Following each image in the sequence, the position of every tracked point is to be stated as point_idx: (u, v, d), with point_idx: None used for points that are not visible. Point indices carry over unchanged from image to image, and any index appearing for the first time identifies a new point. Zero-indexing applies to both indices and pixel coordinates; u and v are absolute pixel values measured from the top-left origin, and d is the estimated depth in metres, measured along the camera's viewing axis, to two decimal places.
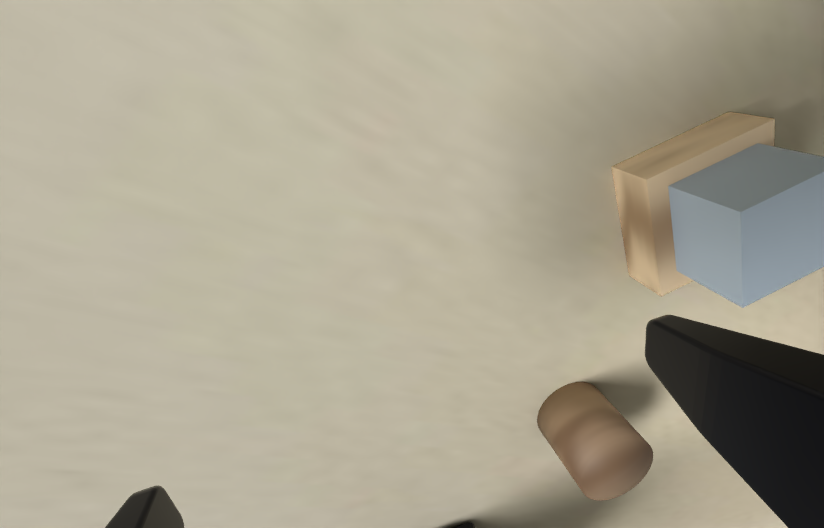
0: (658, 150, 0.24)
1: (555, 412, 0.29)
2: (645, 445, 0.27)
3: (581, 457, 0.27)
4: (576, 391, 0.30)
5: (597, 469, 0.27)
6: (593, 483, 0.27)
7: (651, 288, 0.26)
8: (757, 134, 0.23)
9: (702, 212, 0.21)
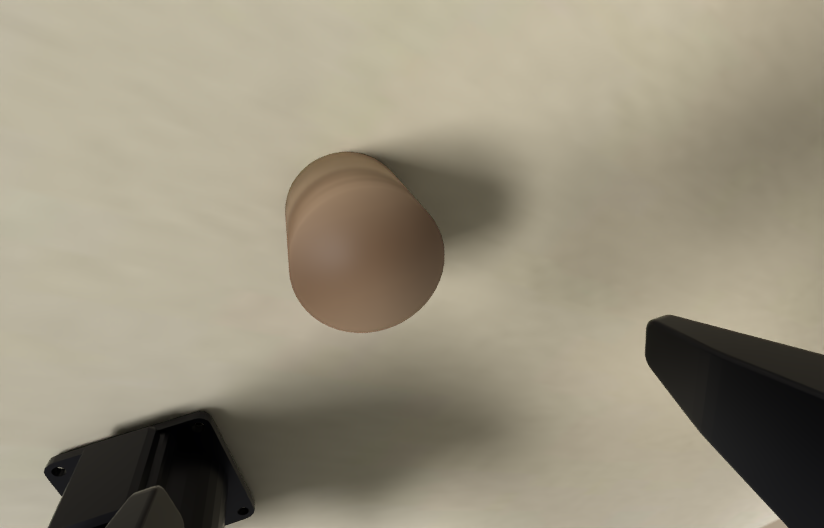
0: None
1: (295, 190, 0.16)
2: (419, 213, 0.14)
3: (293, 234, 0.14)
4: (337, 157, 0.17)
5: (322, 256, 0.14)
6: (322, 289, 0.14)
7: None
8: None
9: None
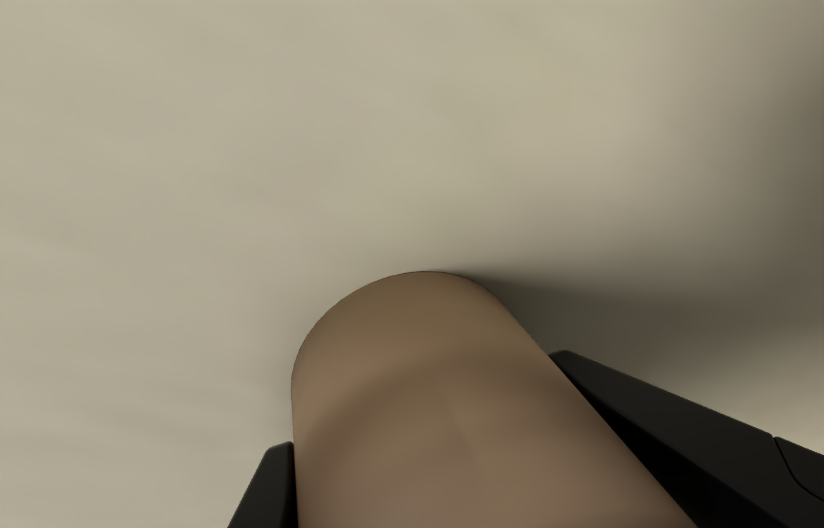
0: None
1: (313, 375, 0.07)
2: None
3: None
4: (405, 296, 0.08)
5: None
6: None
7: None
8: None
9: None
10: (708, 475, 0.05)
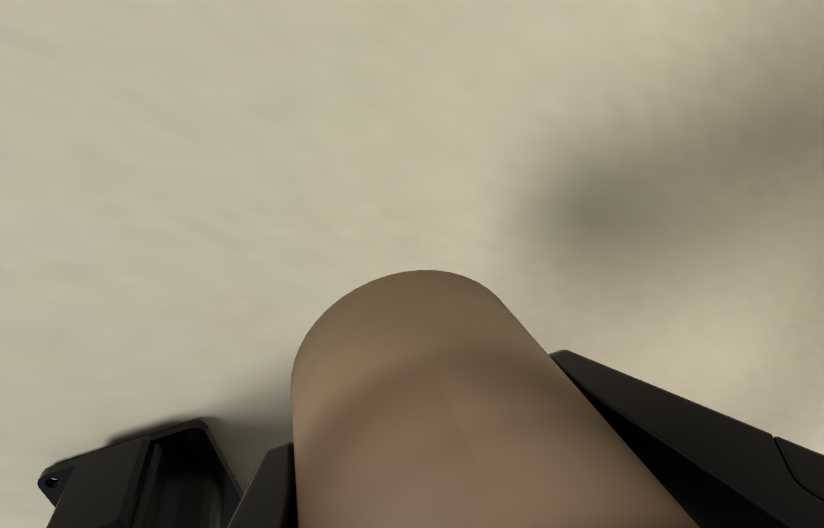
0: None
1: (313, 374, 0.07)
2: None
3: None
4: (405, 294, 0.08)
5: None
6: None
7: None
8: None
9: None
10: (708, 475, 0.05)
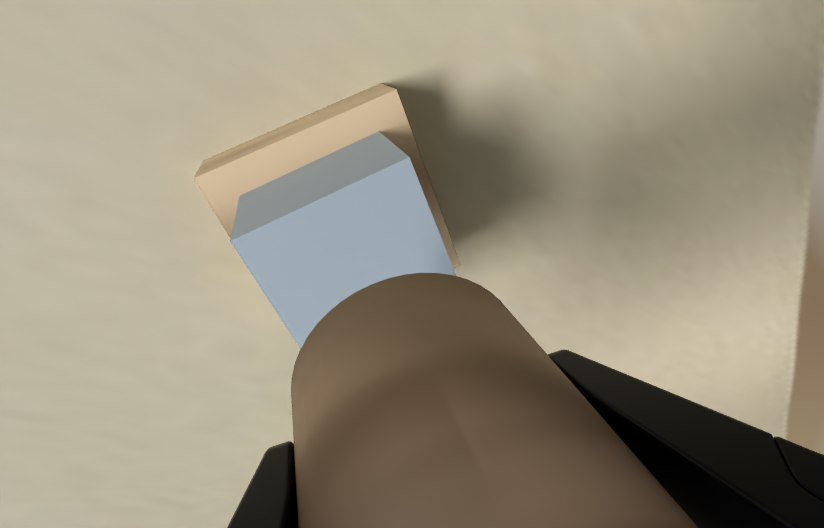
0: (263, 136, 0.17)
1: (313, 377, 0.07)
2: None
3: None
4: (406, 297, 0.08)
5: None
6: None
7: None
8: (373, 112, 0.16)
9: None
10: (708, 475, 0.05)
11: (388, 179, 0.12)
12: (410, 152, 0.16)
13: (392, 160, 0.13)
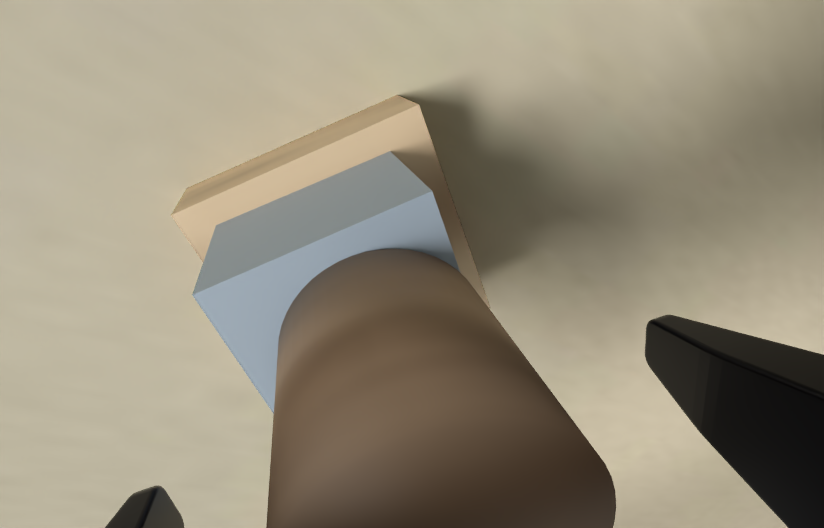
0: (257, 160, 0.14)
1: (294, 330, 0.09)
2: (577, 454, 0.06)
3: (277, 495, 0.06)
4: (377, 266, 0.09)
5: None
6: None
7: None
8: (391, 132, 0.13)
9: None
10: None
11: (404, 218, 0.10)
12: (434, 179, 0.14)
13: (409, 194, 0.10)
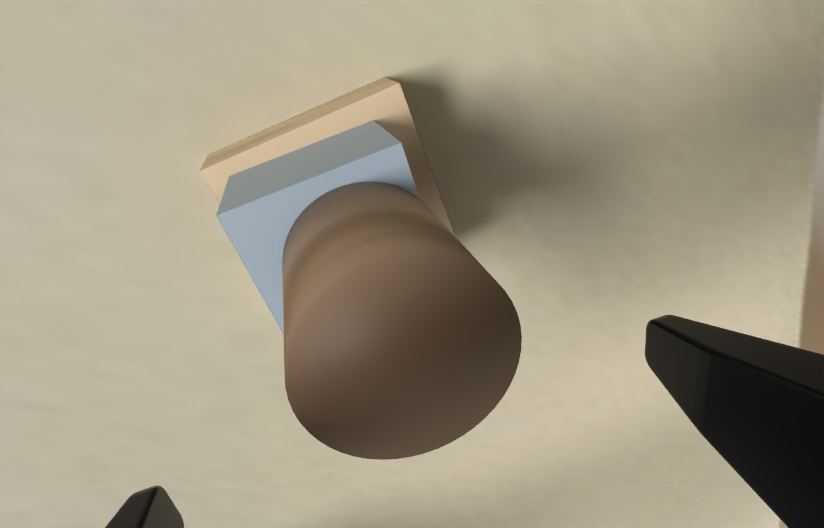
0: (267, 130, 0.17)
1: (297, 235, 0.12)
2: (492, 291, 0.09)
3: (294, 316, 0.09)
4: (361, 190, 0.12)
5: (338, 354, 0.09)
6: (336, 401, 0.09)
7: None
8: (377, 106, 0.16)
9: None
10: None
11: (379, 163, 0.12)
12: (413, 145, 0.17)
13: (383, 145, 0.13)
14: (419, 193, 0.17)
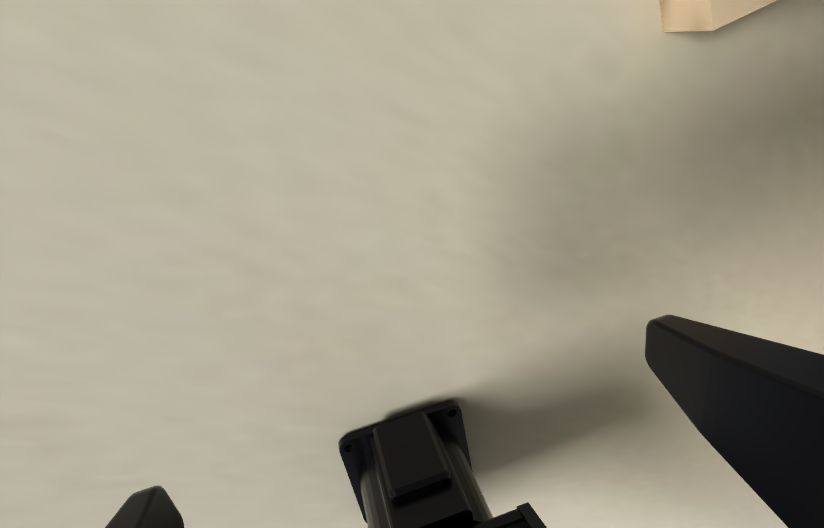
0: None
1: None
2: None
3: None
4: None
5: None
6: None
7: (696, 27, 0.18)
8: None
9: None
10: None
11: None
12: None
13: None
14: None
